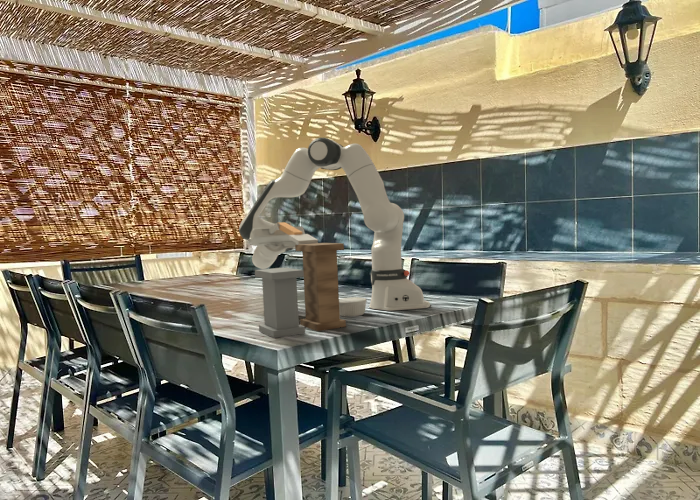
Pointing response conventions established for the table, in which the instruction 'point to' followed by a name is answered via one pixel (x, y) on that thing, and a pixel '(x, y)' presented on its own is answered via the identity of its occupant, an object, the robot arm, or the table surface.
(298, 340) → the table surface
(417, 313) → the table surface
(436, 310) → the table surface
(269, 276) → the low stand
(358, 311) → the ramekin
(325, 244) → the tall stand
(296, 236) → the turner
